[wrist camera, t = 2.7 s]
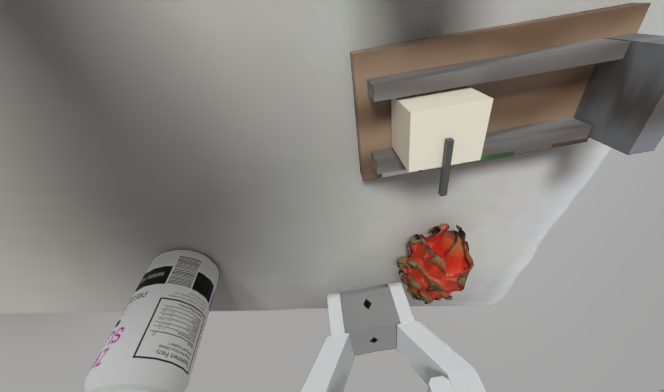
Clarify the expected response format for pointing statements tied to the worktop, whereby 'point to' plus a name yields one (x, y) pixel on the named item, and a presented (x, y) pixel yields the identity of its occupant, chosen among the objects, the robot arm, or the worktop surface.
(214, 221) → the worktop surface
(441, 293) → the dragon fruit
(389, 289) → the robot arm
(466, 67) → the base
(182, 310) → the supplement can
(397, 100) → the cream block with rod
